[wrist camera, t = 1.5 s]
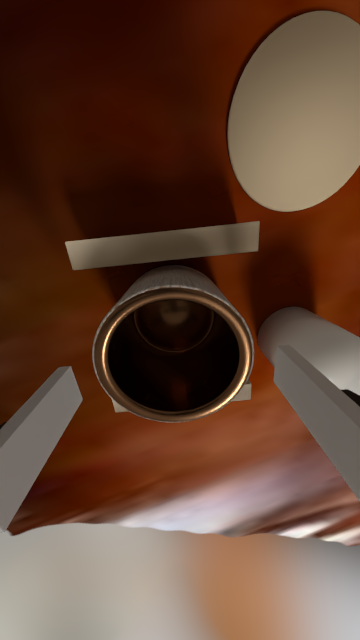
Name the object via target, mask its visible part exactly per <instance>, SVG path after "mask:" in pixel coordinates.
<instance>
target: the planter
mask: <svg viewBox="0 0 360 640" xmlns="http://www.w3.org/2000/svg"><path fill="white" fill-rule="evenodd" d="M92 356H93V365H94V369H95V373H96V375H97V378H98V380H99V382H100V384H101V386H102V387H103V389H104V390H105V391H106V393H107V394H108V395H109V396H110V397H111V398H112V399H113V400H114V401H115V402H116V403H117V404H119V405H120V406H121V407H123V408H124V409H126V410H128V411H129V412H131V413H133V414H136V415H138V416H140V417H143V418H146V419H150V420H154V421H161V422H185V421H191V420H196V419H199V418H202V417H205V416H208V415H210V414H212V413H214V412H216V411H218V410H220V409H221V408H223V407H224V406H226V405H227V404H228V403H230V402H231V401H232V400H233V399H234V398H235V397H236V396H237V395H238V394H239V392H240V391H241V390H242V388H243V387H244V385H245V384H246V382H247V380H248V378H249V376H250V373H251V370H252V366H253V361H254V345H253V340H252V336H251V333H250V330H249V328H248V326H247V324H246V322H245V321H244V319H243V318H242V316H241V315H240V313H239V312H238V311H237V310H236V309H235V308H234V307H233V305H232V304H231V303H230V302H229V301H228V300H227V298H226V297H225V296H224V295H223V294H222V292H221V291H220V290H219V289H218V287H217V286H216V285H215V284H214V283H213V282H212V281H211V280H210V279H209V278H208V277H207V276H206V275H204V274H203V273H201V272H199V271H197V270H195V269H193V268H190V267H186V266H180V265H168V266H162V267H158V268H155V269H152V270H150V271H148V272H146V273H145V274H143V275H142V276H141V277H139V278H138V279H137V280H136V281H135V282H134V283H133V284H132V286H131V287H130V288H129V289H128V290H127V292H126V293H125V294H124V295H123V296H122V298H121V299H120V300H119V301H118V302H117V303H116V304H115V306H114V307H113V308H112V309H111V310H110V311H109V312H108V314H107V315H106V316H105V318H104V319H103V321H102V322H101V324H100V326H99V328H98V330H97V332H96V335H95V338H94V343H93V352H92Z"/></svg>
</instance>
